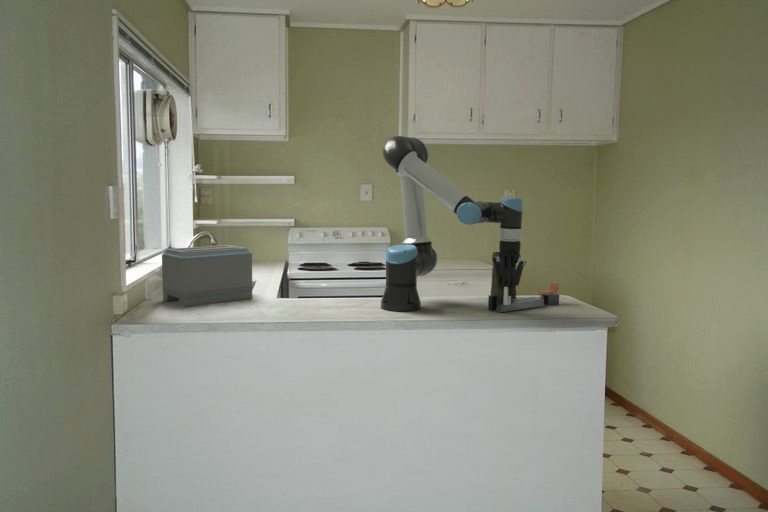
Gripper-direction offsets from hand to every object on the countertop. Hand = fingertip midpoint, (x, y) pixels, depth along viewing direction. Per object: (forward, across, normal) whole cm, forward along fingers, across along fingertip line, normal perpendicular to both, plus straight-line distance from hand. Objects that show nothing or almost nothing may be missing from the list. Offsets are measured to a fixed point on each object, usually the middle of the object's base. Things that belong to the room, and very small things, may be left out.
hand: (506, 304), depth 231 cm
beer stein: (+4, +16, -23) cm, 28 cm away
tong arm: (+3, 0, -10) cm, 10 cm away
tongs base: (+3, +1, -15) cm, 15 cm away
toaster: (+5, +96, +63) cm, 115 cm away
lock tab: (-1, -2, -26) cm, 27 cm away
